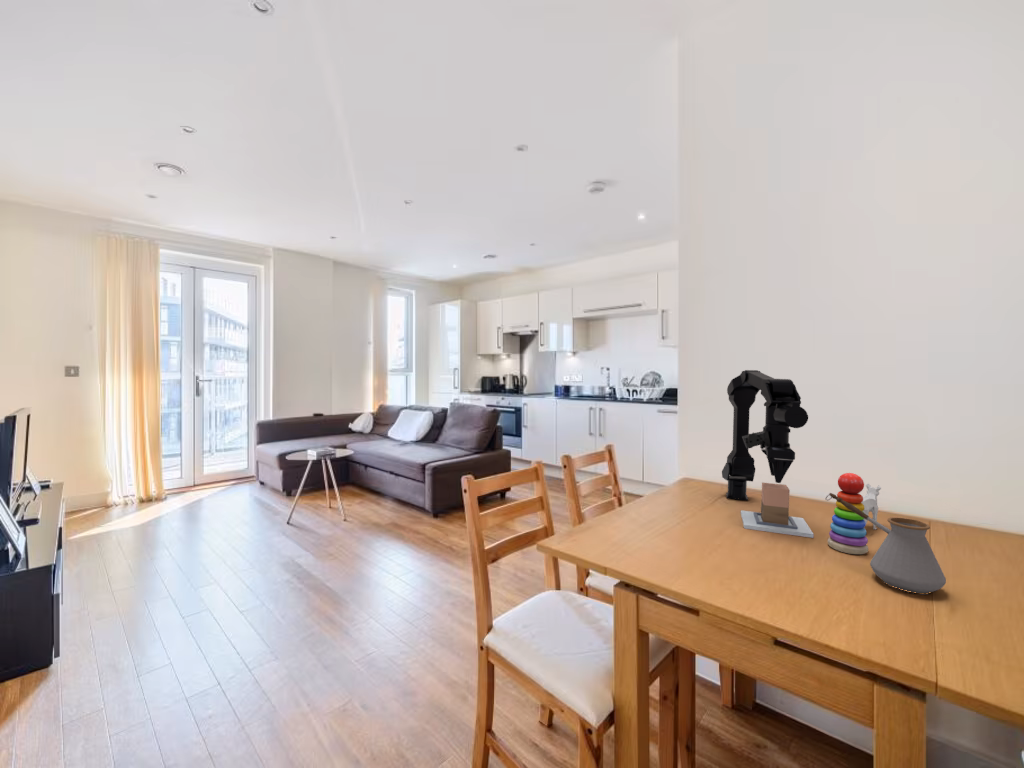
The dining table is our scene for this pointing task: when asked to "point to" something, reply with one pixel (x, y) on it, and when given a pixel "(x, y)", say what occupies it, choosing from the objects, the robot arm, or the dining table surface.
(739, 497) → the robot arm
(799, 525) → the board
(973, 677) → the dining table surface
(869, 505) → the cat figurine
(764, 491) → the terracotta block
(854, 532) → the stacking toy
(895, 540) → the coffee pot
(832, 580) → the dining table surface
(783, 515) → the walnut block
